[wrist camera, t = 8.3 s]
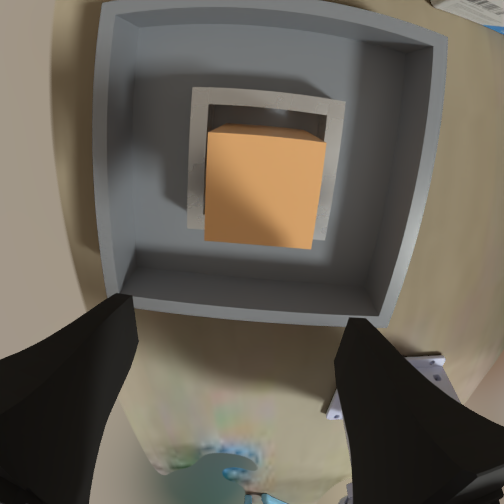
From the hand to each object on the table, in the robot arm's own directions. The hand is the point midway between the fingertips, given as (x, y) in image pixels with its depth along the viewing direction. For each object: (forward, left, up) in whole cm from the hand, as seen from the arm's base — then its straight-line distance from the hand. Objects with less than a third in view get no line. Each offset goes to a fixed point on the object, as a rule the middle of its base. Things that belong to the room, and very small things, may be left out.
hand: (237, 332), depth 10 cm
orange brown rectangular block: (0, -4, -9) cm, 10 cm away
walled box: (0, -4, -10) cm, 10 cm away
